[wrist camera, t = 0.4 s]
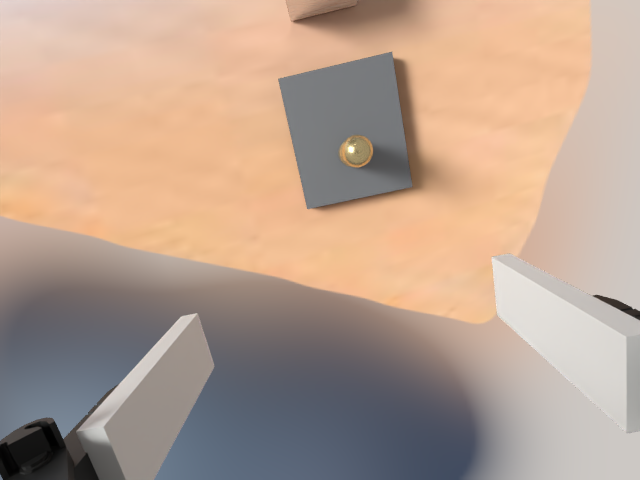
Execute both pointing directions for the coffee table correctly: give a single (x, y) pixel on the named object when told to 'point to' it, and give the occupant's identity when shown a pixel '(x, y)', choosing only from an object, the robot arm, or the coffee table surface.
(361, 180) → the keeper plate
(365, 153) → the pin
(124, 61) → the coffee table surface
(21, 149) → the coffee table surface
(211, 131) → the coffee table surface
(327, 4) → the steel collar
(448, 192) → the coffee table surface
